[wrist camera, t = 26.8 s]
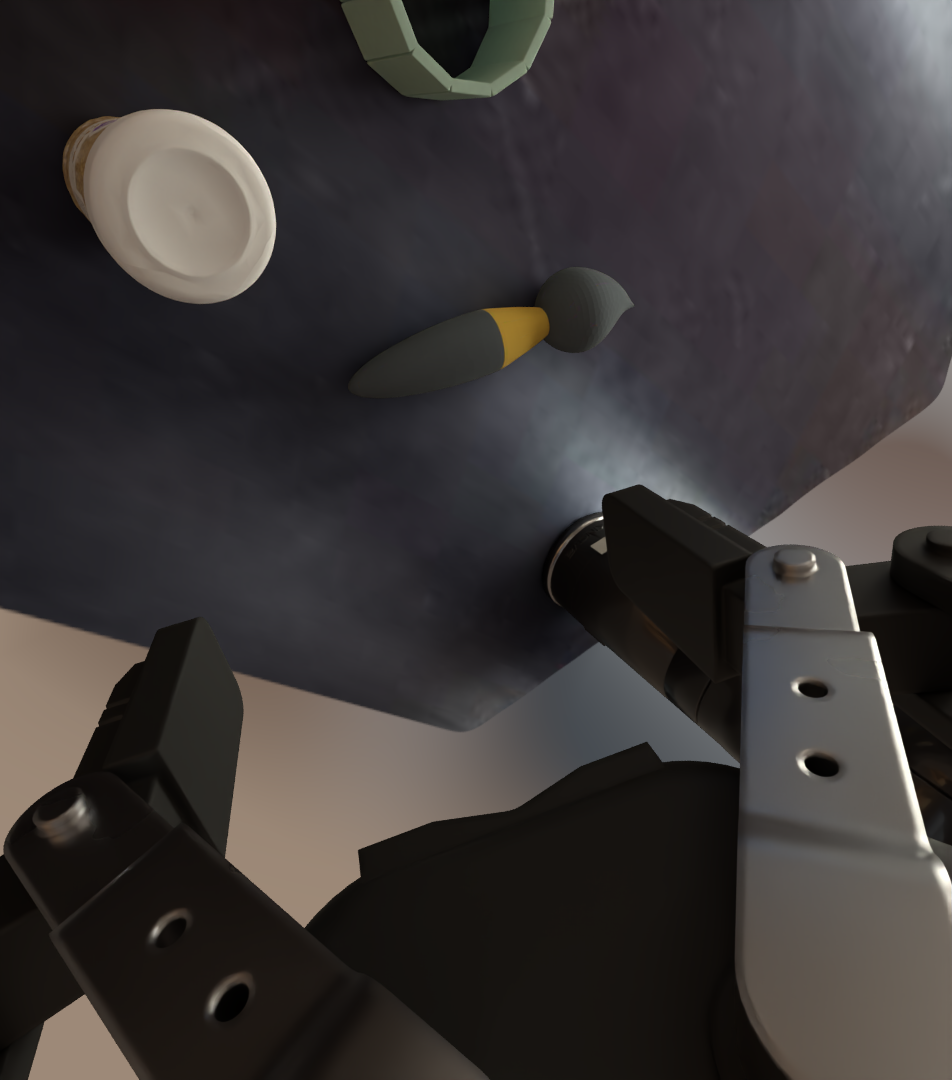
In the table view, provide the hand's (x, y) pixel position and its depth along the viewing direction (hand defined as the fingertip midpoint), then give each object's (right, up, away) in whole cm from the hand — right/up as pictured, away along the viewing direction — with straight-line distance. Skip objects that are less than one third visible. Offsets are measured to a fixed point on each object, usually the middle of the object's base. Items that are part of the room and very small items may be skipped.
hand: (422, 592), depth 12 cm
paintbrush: (+2, +14, +26) cm, 30 cm away
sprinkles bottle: (-14, +16, +13) cm, 25 cm away
